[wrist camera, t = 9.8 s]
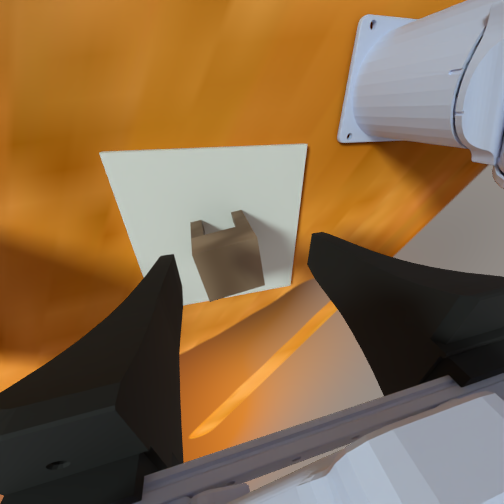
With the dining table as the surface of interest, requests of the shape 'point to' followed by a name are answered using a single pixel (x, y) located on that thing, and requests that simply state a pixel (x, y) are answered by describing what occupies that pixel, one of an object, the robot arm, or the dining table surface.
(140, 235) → the grey mat
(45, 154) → the dining table surface
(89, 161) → the dining table surface
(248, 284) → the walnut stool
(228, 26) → the dining table surface
